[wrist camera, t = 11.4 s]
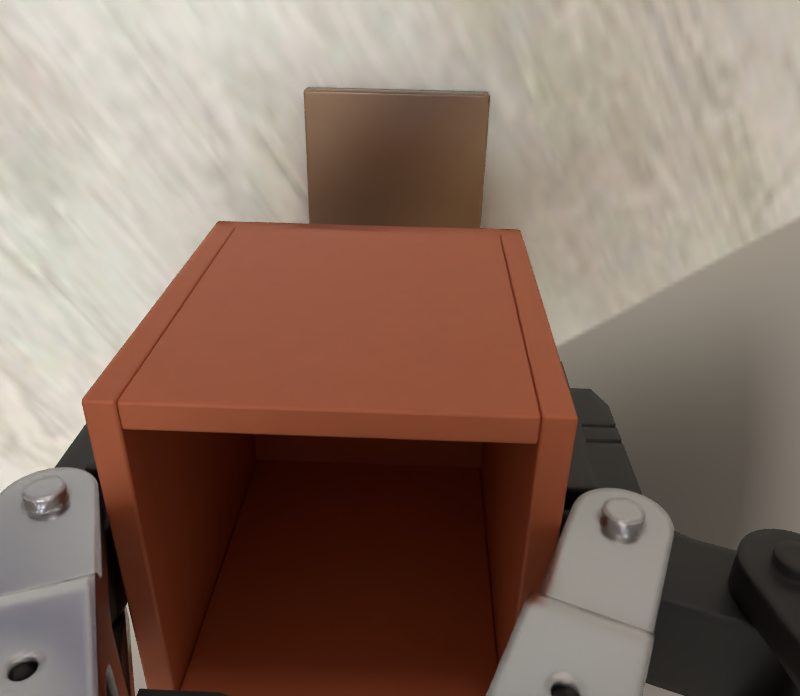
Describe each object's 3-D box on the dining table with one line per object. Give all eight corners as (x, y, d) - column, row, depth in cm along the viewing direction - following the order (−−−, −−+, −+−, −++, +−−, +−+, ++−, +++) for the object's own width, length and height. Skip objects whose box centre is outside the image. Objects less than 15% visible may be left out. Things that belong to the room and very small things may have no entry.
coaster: (488, 91, 24) (490, 94, 24) (476, 262, 27) (477, 268, 26) (306, 86, 24) (303, 90, 24) (313, 257, 27) (311, 263, 27)
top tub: (521, 228, 13) (578, 417, 8) (496, 471, 16) (528, 732, 11) (217, 220, 13) (78, 400, 8) (243, 462, 16) (152, 715, 11)
